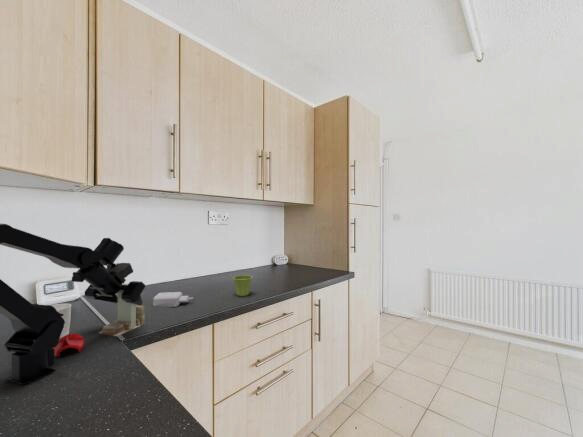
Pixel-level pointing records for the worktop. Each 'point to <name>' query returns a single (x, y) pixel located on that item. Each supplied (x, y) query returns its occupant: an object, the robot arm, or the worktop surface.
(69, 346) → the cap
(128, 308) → the grey-green flat block
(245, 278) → the plant pot
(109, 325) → the offcut top
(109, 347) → the worktop surface
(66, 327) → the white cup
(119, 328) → the offcut bottom
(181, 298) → the white dispenser bottle
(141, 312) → the offcut rack
